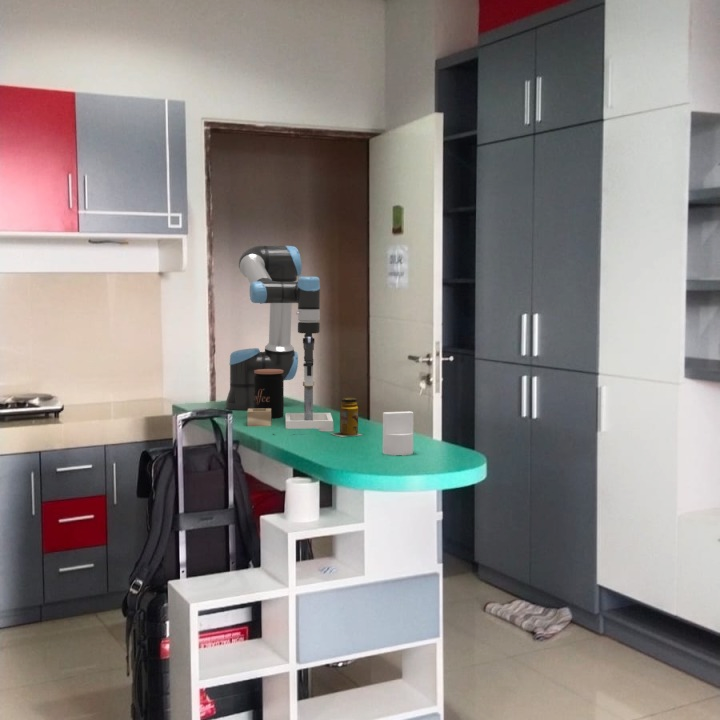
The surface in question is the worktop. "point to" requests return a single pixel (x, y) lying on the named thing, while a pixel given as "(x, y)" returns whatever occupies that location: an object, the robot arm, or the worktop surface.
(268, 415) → the block
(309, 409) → the steel pin
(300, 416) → the tray
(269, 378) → the coffee jar
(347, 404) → the condiment
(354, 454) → the worktop surface
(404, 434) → the base with upright slab
